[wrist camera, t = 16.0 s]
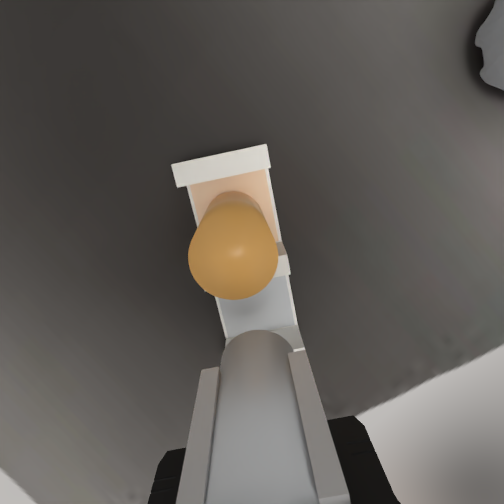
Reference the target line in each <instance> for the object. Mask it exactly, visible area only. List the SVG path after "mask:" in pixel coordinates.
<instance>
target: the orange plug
mask: <svg viewBox="0 0 504 504" xmlns="http://www.w3.org/2000/svg"><path fill="white" fill-rule="evenodd" d="M188 262H189V267H190V270H191V273H192V275H193V277H194V279H195V280H196V282H197V283H198V284H199V285H200V286H201V287H202V288H203V289H204V290H205V291H207V292H208V293H210V294H212V295H213V296H216V297H218V298H222V299H228V300H239V299H244V298H248V297H251V296H253V295H255V294H257V293H259V292H260V291H261V290H263V289H264V288H265V287H266V286H267V285H268V284H269V282H270V281H271V280H272V278H273V276H274V274H275V272H276V269H277V265H278V249H277V244H276V242H275V239H274V237H273V235H272V233H271V230H270V228H269V226H268V224H267V221H266V219H265V217H264V215H263V212H262V210H261V208H260V206H259V204H258V203H257V202H256V201H255V200H254V199H253V198H252V197H251V196H249V195H247V194H245V193H242V192H237V191H231V192H226V193H223V194H221V195H219V196H217V197H216V198H215V199H214V200H213V201H212V202H211V203H210V204H209V206H208V208H207V210H206V212H205V214H204V216H203V218H202V220H201V222H200V224H199V226H198V228H197V230H196V232H195V234H194V236H193V238H192V241H191V243H190V246H189V252H188Z"/></svg>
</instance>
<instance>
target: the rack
mask: <svg viewBox="0 0 504 504" xmlns="http://www.w3.org/2000/svg"><path fill="white" fill-rule="evenodd" d="M171 166H172V170H173V174H174V177H175V181H176V185H177V188H178V187H183V186H187V190H188V193H189V197H190V201H191V205H192V209H193V213H194V217H195V221H196V225H197V228H198V226H199V224H200V222H201V220H202V218H203V216H204V214H205V212H206V210H207V208H208V206H209V204H210V203H211V202H212V201H213V200H214V199H215V198H216V197H217V196H219V195H221V194H223V193H226V192H231V191H237V192H242V193H245V194H247V195H249V196H251V197H252V198H253V199H254V200H255V201H256V202H257V203H258V204H259V206H260V208H261V210H262V212H263V215H264V217H265V219H266V221H267V224H268V226H269V228H270V230H271V233H272V235H273V237H274V239H275V242H276V244H277V249H278V265H277V269H276V272H275V274H274V276H273V278H272V280H271V281H270V282H269V284H268V285H267V286H266V287H265V288H264V289H263V290H261V291H260V292H259V293H257V294H255V295H253V296H251V297H248V298H244V299H239V300H228V299H222V298H218V297H216V296H215V299H216V302H217V306H218V310H219V314H220V318H221V322H222V326H223V330H224V334H225V337H226V344H225V347H226V346H227V344H228V343H229V342H230V341H231V340H232V339H233V338H235V337H236V336H238V335H239V334H242V333H244V332H247V331H251V330H267V331H271V332H274V333H276V334H278V335H280V336H282V337H283V338H284V339H286V340H287V342H288V343H289V344H290V345H291V347H292V348H293V350H294V352H296V351H301V350H305V347H304V344H303V341H302V337H301V334H300V331H299V327H298V323H297V318H296V313H295V307H294V302H293V297H292V292H291V286H290V281H289V276H288V275H290V274H291V272H290V267H289V262H288V256H287V253H286V250H285V248H284V245H283V243H282V239H281V233H280V228H279V223H278V218H277V212H276V207H275V202H274V196H273V191H272V186H271V181H270V175H269V170H268V168H271V165H270V160H269V155H268V149H267V144H263V145H258V146H253V147H249V148H244V149H239V150H235V151H230V152H226V153H221V154H216V155H212V156H207V157H202V158H198V159H193V160H189V161H184V162H180V163H175V164H171ZM204 291H205V290H204Z"/></svg>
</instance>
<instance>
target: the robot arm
mask: <svg viewBox="0 0 504 504" xmlns="http://www.w3.org/2000/svg"><path fill="white" fill-rule="evenodd" d="M288 357H289V362H290V367H291V371H292V376H293V381H294V385H295V390H296V395H297V400H298V404H299V409H300V414H301V418H302V423H303V428H304V432H305V437H306V442H307V446H308V451H309V456H310V460H311V465H312V470H313V475H314V479H315V484H316V489H317V493H318V498H319V503H320V504H401V503H400V502H399V501H398V500H397V498H396V497H395V495H394V493H393V491H392V488H391V486H390V484H389V482H388V479H387V477H386V475H385V472H384V470H383V468H382V466H381V463H380V461H379V459H378V456H377V454H376V452H375V449H374V447H373V445H372V443H371V441H370V438H369V435H368V433H367V431H366V429H365V426H364V425H363V424H362V423H361V422H360V421H359V420H358V419H357V418H356V417H354V416H348V417H343V418H337V419H332V420H326V416H325V413H324V410H323V406H322V403H321V400H320V397H319V393H318V390H317V387H316V383H315V380H314V377H313V374H312V370H311V367H310V364H309V360H308V357H307V354H306V351H305V350H301V351H296V352H291V353H288ZM220 374H221V373H220V369H219V367H214V368H208V369H203V370H201V375H200V380H199V385H198V390H197V396H196V401H195V406H194V411H193V416H192V422H191V427H190V432H189V437H188V442H187V448H182V449H176V450H171V451H167V452H166V454H165V455H164V457H163V458H162V460H161V461H160V463H159V464H158V467H157V471H156V475H155V479H154V482H153V486H152V490H151V494H150V497H149V501H148V504H205V501H206V492H207V484H208V475H209V467H210V458H211V450H212V441H213V433H214V425H215V416H216V408H217V399H218V391H219V382H220Z"/></svg>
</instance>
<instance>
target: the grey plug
mask: <svg viewBox="0 0 504 504" xmlns="http://www.w3.org/2000/svg"><path fill="white" fill-rule="evenodd" d="M291 352H294V350H293V348H292V347H291V345H290V344H289V343H288V342H287V340H286V339H284V338H283V337H282V336H280V335H278V334H276V333H274V332H271V331H267V330H251V331H247V332H244V333H242V334H239V335H238V336H236V337H235V338H233V339H232V340H231V341H230V342H229V343H228V344H227V346H226V347H225V349H224V351H223V354H222V358H221V364H220V373H221V374H220V382H219V391H218V399H217V408H216V416H215V425H214V433H213V441H212V450H211V458H210V467H209V475H208V484H207V492H206V501H205V504H320V503H319V498H318V493H317V489H316V484H315V479H314V475H313V470H312V465H311V460H310V456H309V451H308V446H307V442H306V437H305V432H304V428H303V423H302V418H301V414H300V409H299V404H298V400H297V395H296V390H295V385H294V381H293V376H292V371H291V367H290V362H289V357H288V353H291Z"/></svg>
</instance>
